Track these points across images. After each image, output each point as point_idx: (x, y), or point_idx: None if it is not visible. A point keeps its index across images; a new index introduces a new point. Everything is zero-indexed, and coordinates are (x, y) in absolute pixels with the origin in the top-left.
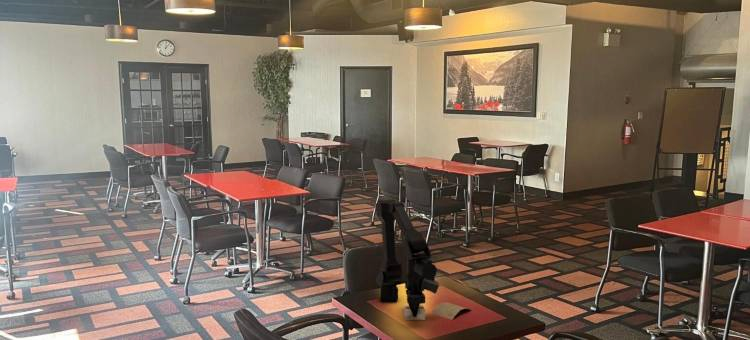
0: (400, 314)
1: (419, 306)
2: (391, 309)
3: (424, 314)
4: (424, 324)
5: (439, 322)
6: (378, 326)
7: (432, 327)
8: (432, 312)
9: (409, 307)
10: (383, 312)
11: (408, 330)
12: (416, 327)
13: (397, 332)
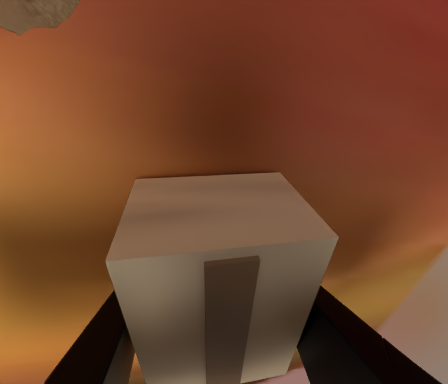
0: None
1: (170, 299)
2: (37, 363)
3: (302, 208)
4: (360, 186)
5: (386, 17)
6: (294, 365)
7: (444, 132)
8: (13, 21)
9: (216, 372)
10: None
11: (393, 275)
12: (379, 239)
13: (386, 310)
